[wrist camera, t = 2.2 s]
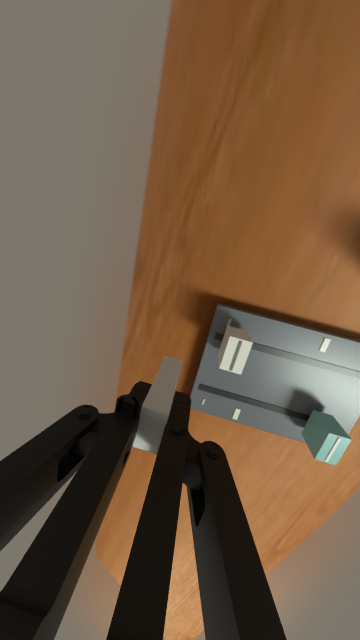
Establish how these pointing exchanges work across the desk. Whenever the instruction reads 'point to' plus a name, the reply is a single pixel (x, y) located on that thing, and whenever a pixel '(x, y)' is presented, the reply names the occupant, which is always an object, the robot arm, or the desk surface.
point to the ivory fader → (234, 350)
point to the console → (279, 375)
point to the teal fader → (325, 437)
